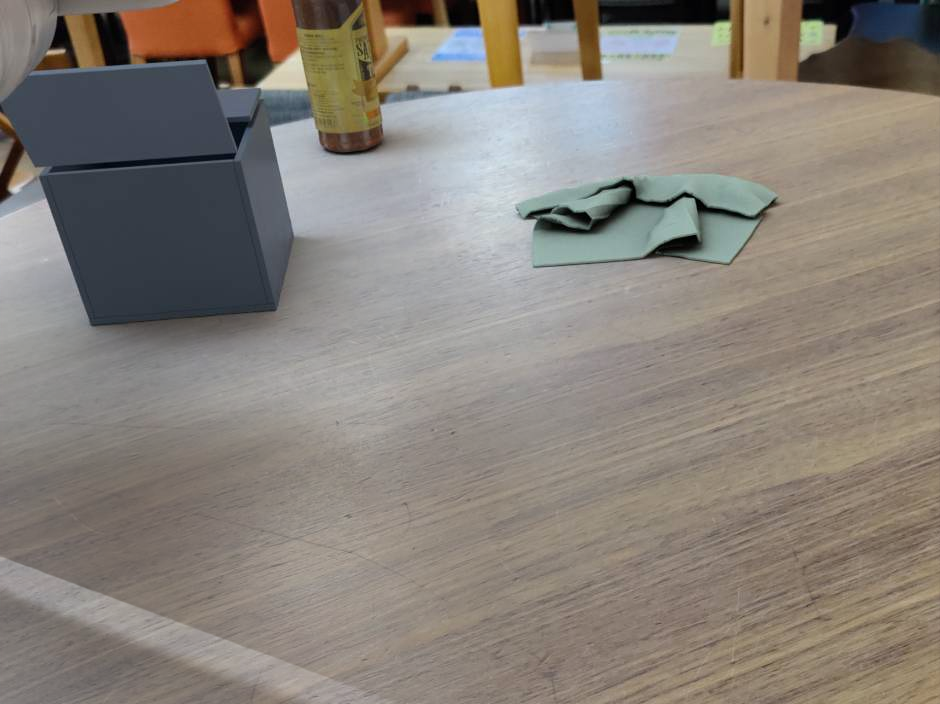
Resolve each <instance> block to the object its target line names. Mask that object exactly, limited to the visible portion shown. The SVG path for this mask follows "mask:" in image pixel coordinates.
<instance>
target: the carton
mask: <svg viewBox="0 0 940 704" xmlns="http://www.w3.org/2000/svg"><path fill="white" fill-rule="evenodd" d="M217 93H218V96H219V99H220V101H221V104H222V107H223V110H224V113H225V116H226V119H227V121H228V124H229V127H230V130H231V133H232V136H233V138H234V141H235V144H236V147H237V153H226V154H213V155H199V156H186V157H172V158H159V159H145V160H131V161H118V162H104V163H91V164H77V165H63V166H50V167H43V169H42V170H41V172H40V174H38V179H39V181H40V184H41V187H42V190H43V193H44V196H45V199H46V201H47V204H48V208H49V210H50V213H51V216H52V218H53V221H54V224H55V228H56V230H57V232H58V236H59V238H60V241H61V245H62V247H63V250H64V253H65V256H66V258H67V261H68V265H69V267H70V270H71V273H72V275H73V279H74V281H75V285H76V287H77V290H78V293H79V296H80V298H81V302H82V305H83V307H84V311H85V312H86V316H87V318H88V322H89V324H90V326H100V325H111V324H123V323H124V324H125V323H135V322H146V321H159V320H161V321H162V320H173V319H185V318H195V317H208V316H218V315H219V316H220V315H221V316H222V315H231V314H232V315H233V314H244V313H254V311H256V312H268V311H276V310H277V309H278V305H279V300H280V296H281V291H282V287H283V284H284V280H285V275H286V270H287V266H288V262H289V258H290V254H291V250H292V245H293V241H294V237H295V233H294V230H293V224H292V220H291V216H290V215H291V214H290V211H289V206H288V202H287V197H286V193H285V188H284V183H283V179H282V174H281V170H280V165H279V160H278V157H277V152H276V147H275V143H274V139H273V134H272V130H271V125H270V121H269V117H268V111H267V107H266V102H265V99H264V98H261V96H262V93H263V92H262V88H261V87H250V88H249V87H248V88H236V89H224V90H223V89H221V90H219V89H218V90H217Z"/></svg>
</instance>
